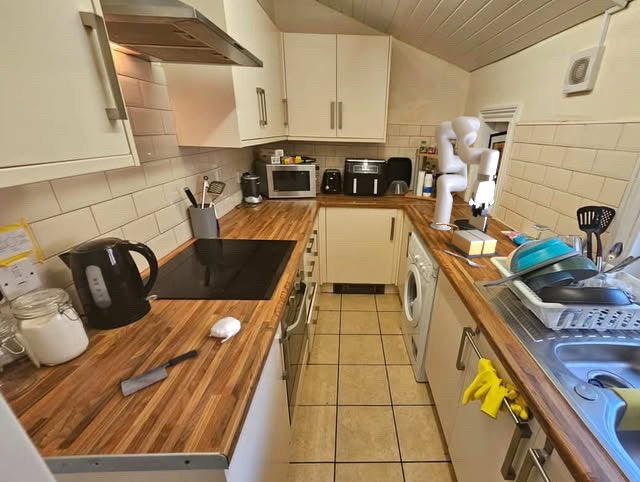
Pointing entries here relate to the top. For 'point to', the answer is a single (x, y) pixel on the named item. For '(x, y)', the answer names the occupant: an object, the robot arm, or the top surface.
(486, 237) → the cake
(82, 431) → the top surface
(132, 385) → the cleaver
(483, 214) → the knife
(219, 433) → the top surface
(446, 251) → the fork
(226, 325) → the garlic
